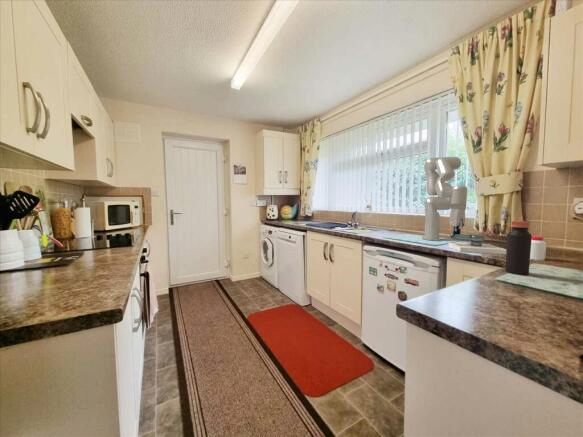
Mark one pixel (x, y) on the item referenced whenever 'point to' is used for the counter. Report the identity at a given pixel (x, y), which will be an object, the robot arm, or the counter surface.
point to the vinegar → (518, 248)
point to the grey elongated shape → (471, 238)
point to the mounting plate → (477, 248)
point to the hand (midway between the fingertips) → (456, 237)
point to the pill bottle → (538, 248)
